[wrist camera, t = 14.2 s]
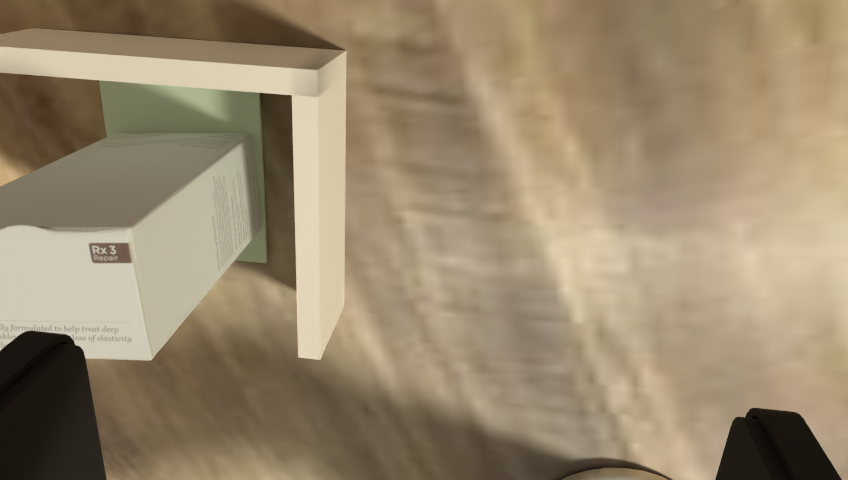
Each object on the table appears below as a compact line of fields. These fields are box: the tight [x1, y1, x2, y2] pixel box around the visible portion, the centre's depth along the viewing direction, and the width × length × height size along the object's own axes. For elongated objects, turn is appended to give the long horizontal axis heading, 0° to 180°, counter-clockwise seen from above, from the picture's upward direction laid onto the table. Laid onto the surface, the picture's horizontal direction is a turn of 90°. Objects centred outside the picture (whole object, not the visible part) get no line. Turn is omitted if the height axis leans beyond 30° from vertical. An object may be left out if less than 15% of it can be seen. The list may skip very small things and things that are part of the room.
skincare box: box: [0, 133, 261, 360], centre depth 32 cm, size 8×6×15 cm
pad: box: [99, 80, 268, 263], centre depth 39 cm, size 11×9×1 cm
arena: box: [0, 28, 346, 360], centre depth 37 cm, size 15×17×6 cm
